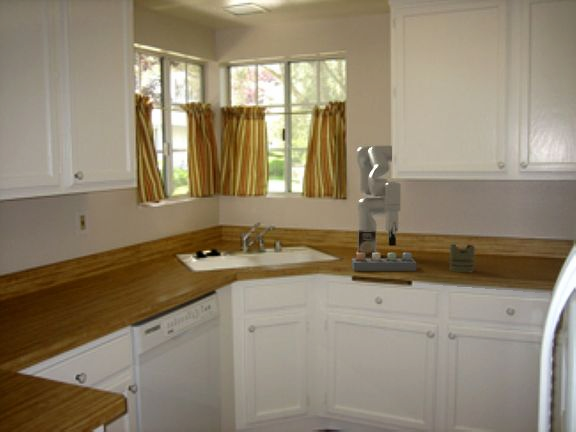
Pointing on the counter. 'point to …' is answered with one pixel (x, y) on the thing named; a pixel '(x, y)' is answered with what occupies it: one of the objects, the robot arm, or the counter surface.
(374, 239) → the coffee box
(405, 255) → the slate button
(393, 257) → the sage button
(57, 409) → the counter surface
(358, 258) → the terracotta button
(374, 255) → the cream button
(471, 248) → the olive tactical vest
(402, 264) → the console
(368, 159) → the robot arm
